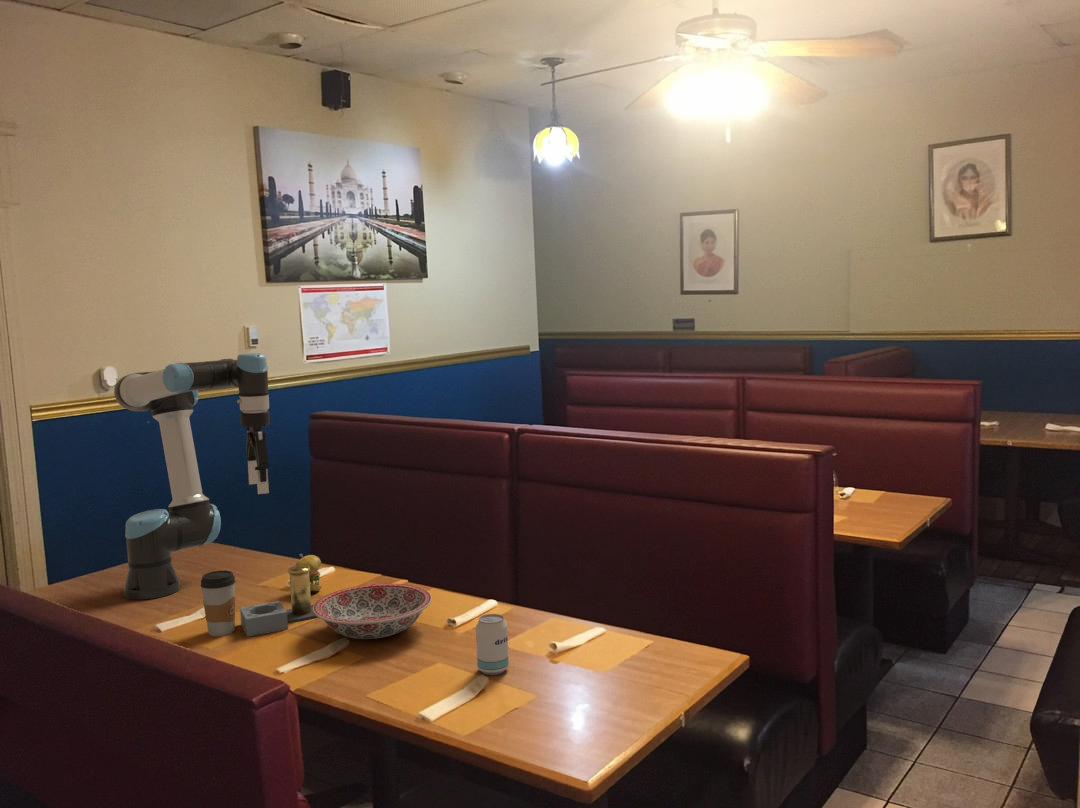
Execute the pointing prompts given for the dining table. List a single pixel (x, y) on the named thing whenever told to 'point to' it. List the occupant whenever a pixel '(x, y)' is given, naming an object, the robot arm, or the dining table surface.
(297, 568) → the gold round-topped cylinder
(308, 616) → the rubber mat
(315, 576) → the hamburger
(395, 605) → the ceramic bowl
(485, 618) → the beverage can
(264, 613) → the housing
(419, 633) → the dining table surface
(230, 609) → the coffee cup
